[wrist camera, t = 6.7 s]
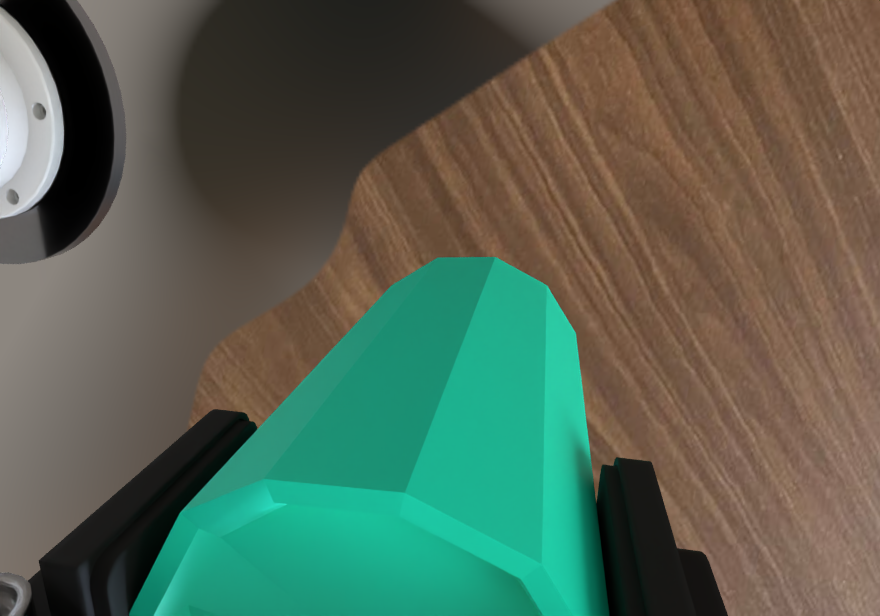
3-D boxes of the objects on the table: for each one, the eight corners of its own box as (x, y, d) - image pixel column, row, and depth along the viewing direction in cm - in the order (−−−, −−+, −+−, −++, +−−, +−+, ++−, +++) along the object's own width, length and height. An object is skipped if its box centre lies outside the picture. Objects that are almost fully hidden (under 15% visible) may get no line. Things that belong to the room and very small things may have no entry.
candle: (546, 227, 15) (539, 535, 4) (601, 430, 17) (708, 1073, 6) (338, 285, 17) (-89, 628, 6) (405, 467, 18) (174, 1030, 7)
